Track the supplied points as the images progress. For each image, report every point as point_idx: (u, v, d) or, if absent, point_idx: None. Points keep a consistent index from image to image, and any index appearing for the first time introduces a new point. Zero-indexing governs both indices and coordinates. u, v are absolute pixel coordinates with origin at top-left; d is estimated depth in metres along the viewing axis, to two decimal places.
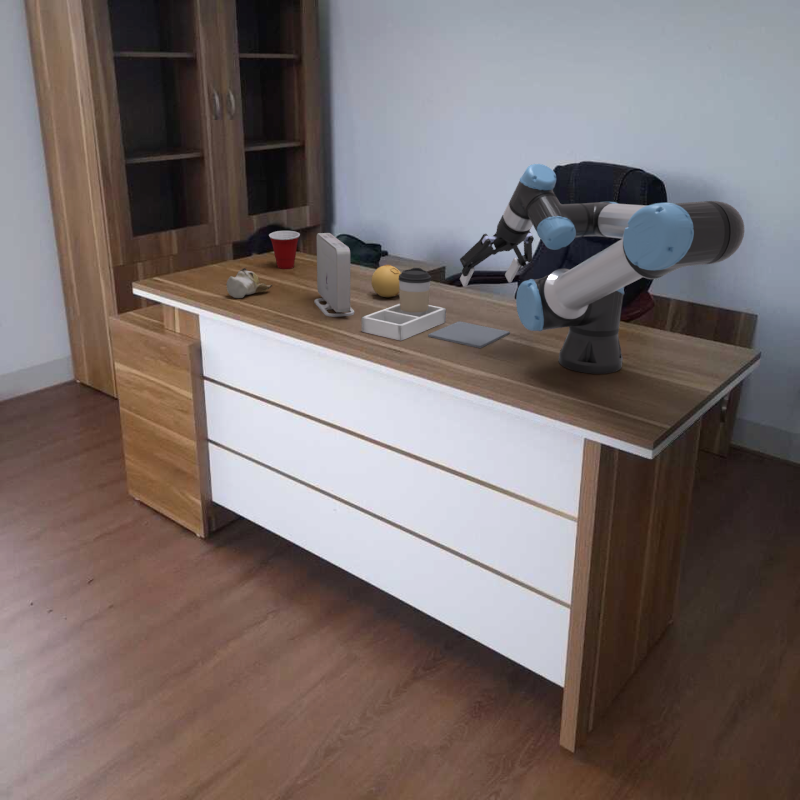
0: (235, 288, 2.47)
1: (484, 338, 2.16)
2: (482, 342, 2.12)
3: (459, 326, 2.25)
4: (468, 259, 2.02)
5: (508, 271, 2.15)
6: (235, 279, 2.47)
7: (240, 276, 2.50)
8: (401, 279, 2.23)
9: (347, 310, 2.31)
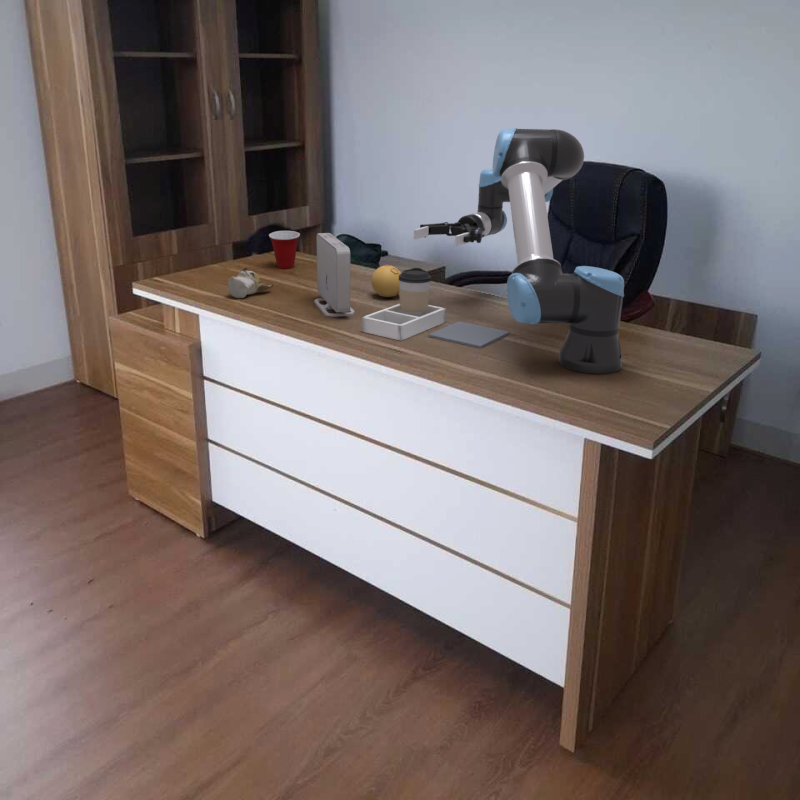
0: (237, 288, 2.47)
1: (484, 338, 2.16)
2: (482, 342, 2.12)
3: (459, 326, 2.25)
4: None
5: None
6: (237, 279, 2.47)
7: (241, 276, 2.50)
8: (401, 279, 2.23)
9: (347, 310, 2.31)
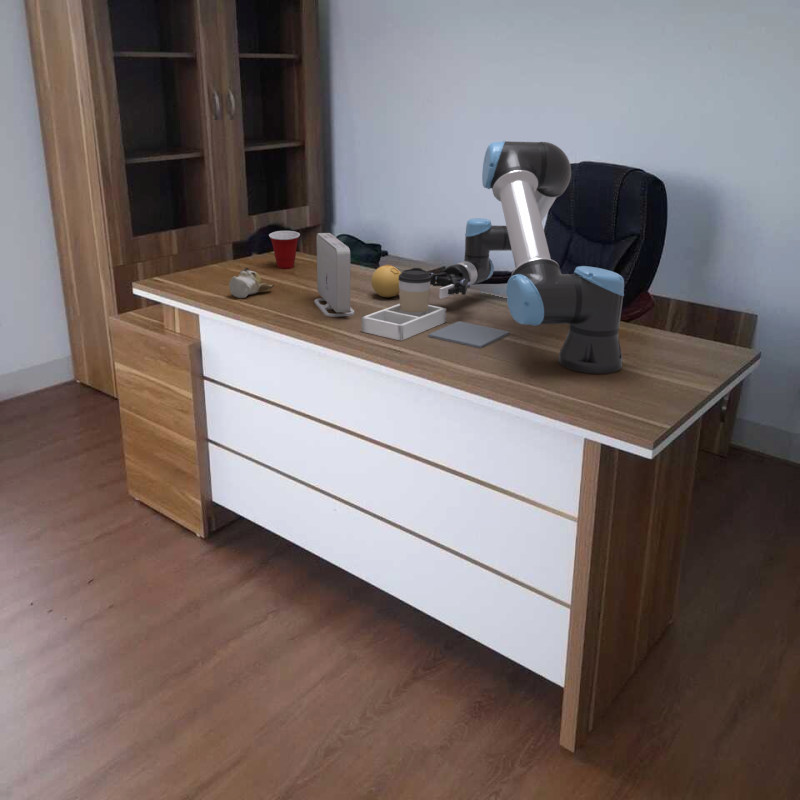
0: (239, 288, 2.48)
1: (484, 338, 2.16)
2: (482, 342, 2.12)
3: (459, 326, 2.25)
4: None
5: None
6: (238, 279, 2.47)
7: (243, 276, 2.50)
8: (401, 279, 2.23)
9: (347, 310, 2.31)
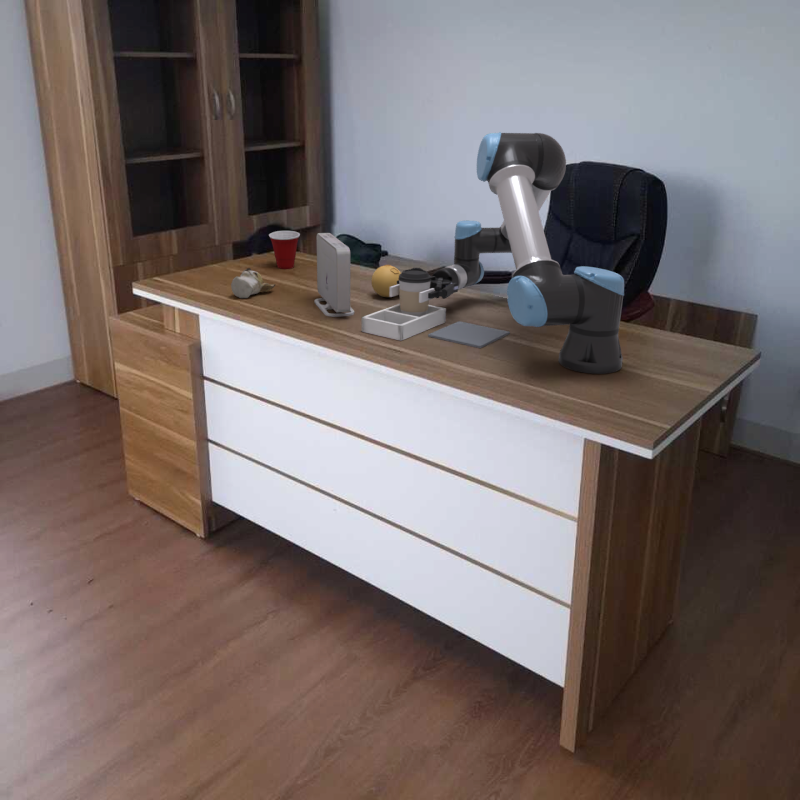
0: (241, 288, 2.48)
1: (484, 338, 2.16)
2: (482, 342, 2.12)
3: (459, 326, 2.25)
4: None
5: None
6: (241, 279, 2.47)
7: (245, 276, 2.50)
8: (401, 279, 2.23)
9: (347, 310, 2.31)
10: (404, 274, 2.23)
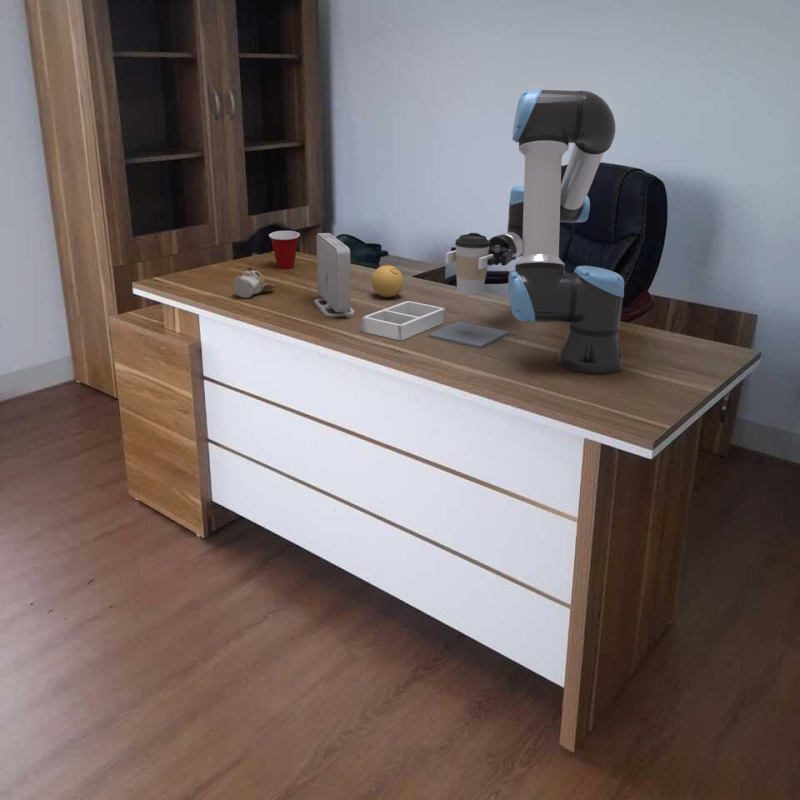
0: (243, 288, 2.48)
1: (484, 338, 2.16)
2: (482, 342, 2.12)
3: (459, 326, 2.25)
4: None
5: None
6: (243, 279, 2.47)
7: (247, 276, 2.50)
8: (459, 244, 2.09)
9: (347, 310, 2.31)
10: (462, 239, 2.09)
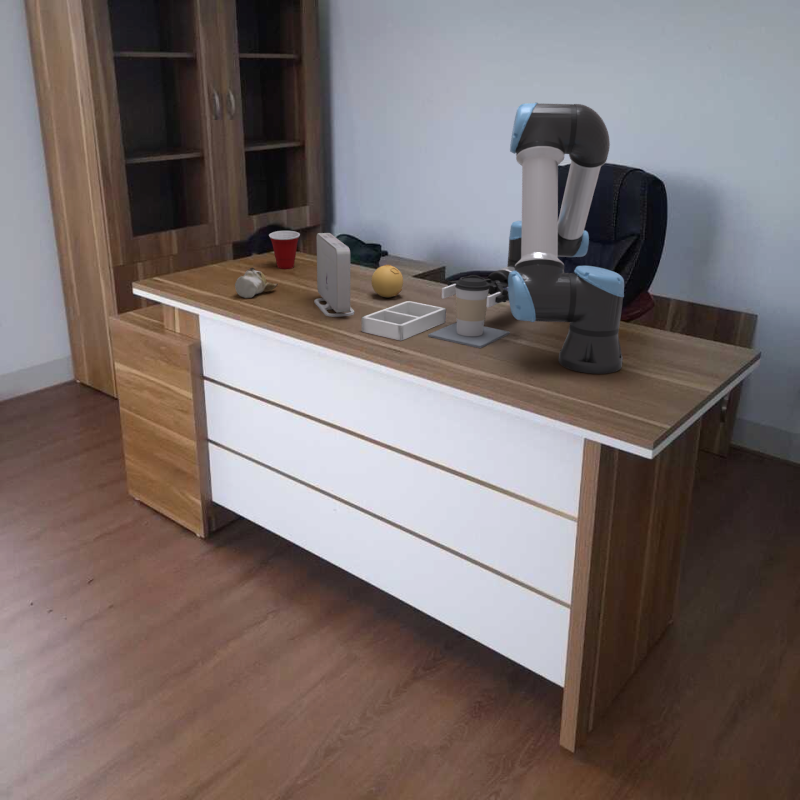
0: (246, 288, 2.48)
1: (484, 338, 2.16)
2: (482, 342, 2.12)
3: None
4: None
5: None
6: (245, 279, 2.47)
7: (249, 276, 2.50)
8: (459, 287, 2.13)
9: (347, 310, 2.31)
10: (462, 281, 2.13)
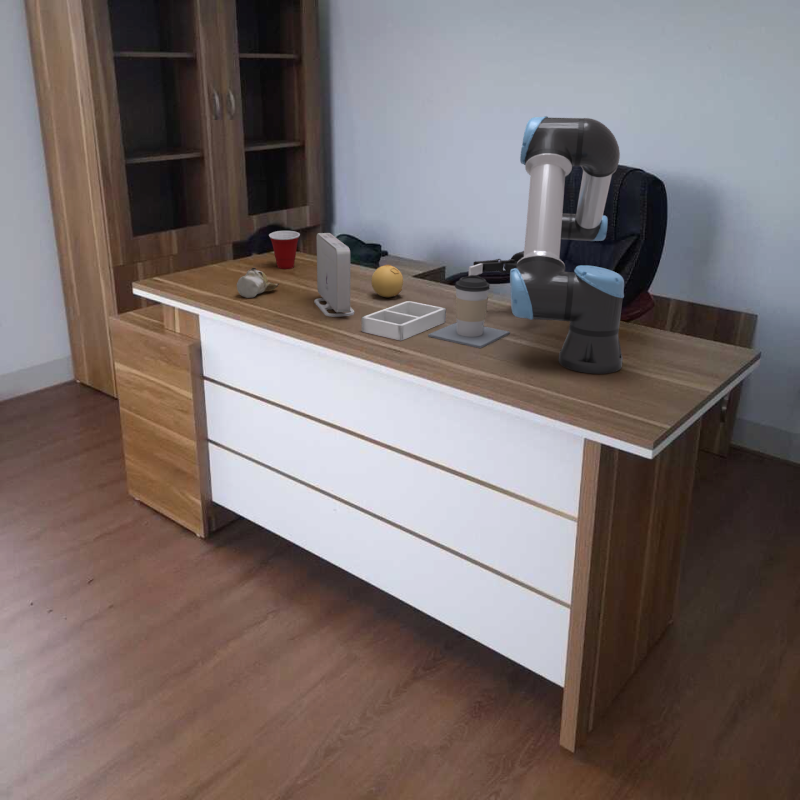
0: (248, 288, 2.48)
1: (484, 338, 2.16)
2: (482, 342, 2.12)
3: None
4: None
5: None
6: (248, 279, 2.47)
7: (251, 276, 2.50)
8: (459, 287, 2.13)
9: (347, 310, 2.31)
10: (462, 282, 2.13)
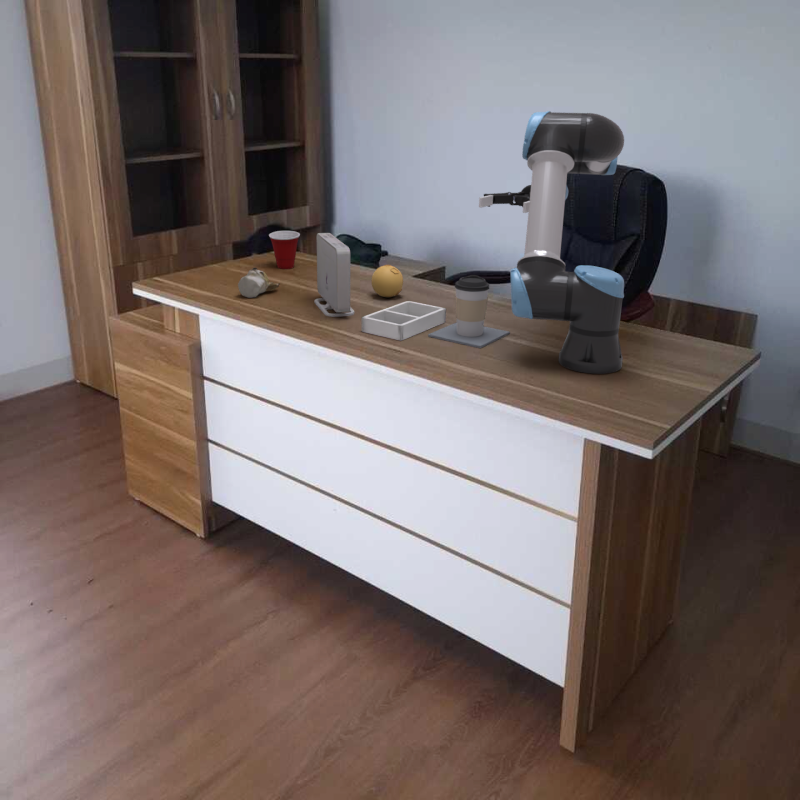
0: (250, 288, 2.48)
1: (484, 338, 2.16)
2: (482, 342, 2.12)
3: None
4: None
5: None
6: (249, 279, 2.48)
7: (252, 275, 2.51)
8: (458, 287, 2.13)
9: (347, 310, 2.31)
10: (461, 282, 2.13)
